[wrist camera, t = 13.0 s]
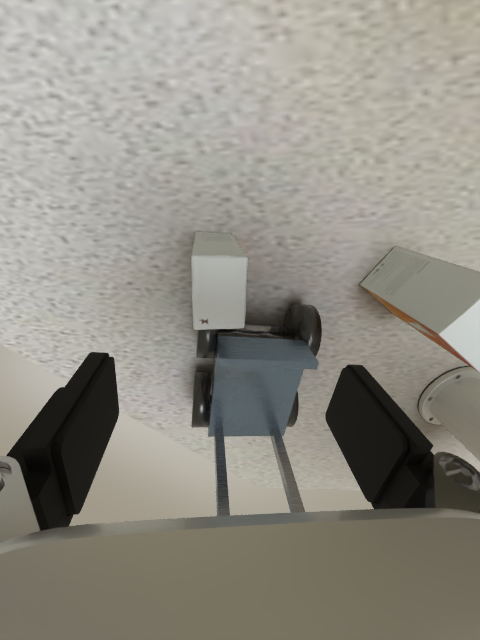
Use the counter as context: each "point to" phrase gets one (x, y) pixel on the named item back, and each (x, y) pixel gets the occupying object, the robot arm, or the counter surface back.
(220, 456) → the trolley
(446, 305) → the small box
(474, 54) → the counter surface
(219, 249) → the skincare box
